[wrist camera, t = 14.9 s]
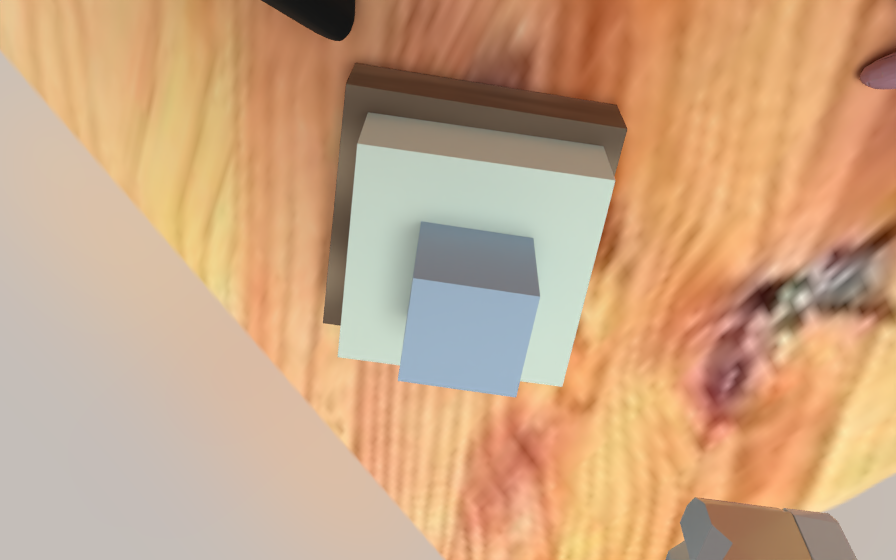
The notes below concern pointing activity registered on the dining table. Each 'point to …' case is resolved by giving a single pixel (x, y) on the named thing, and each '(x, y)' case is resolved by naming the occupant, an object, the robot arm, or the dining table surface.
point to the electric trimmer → (320, 15)
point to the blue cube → (470, 310)
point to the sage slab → (470, 225)
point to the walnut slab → (457, 107)
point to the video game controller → (880, 73)
